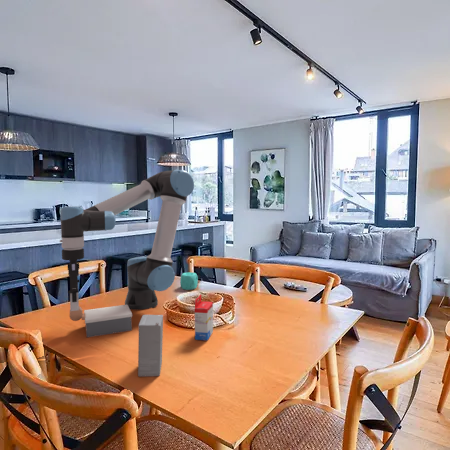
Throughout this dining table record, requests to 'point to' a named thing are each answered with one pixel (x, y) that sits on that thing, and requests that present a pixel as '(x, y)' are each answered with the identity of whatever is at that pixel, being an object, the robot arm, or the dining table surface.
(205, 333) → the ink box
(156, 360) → the skincare box
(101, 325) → the tub
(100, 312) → the lid
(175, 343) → the dining table surface
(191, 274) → the decorative dice
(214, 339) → the dining table surface
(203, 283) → the dining table surface
